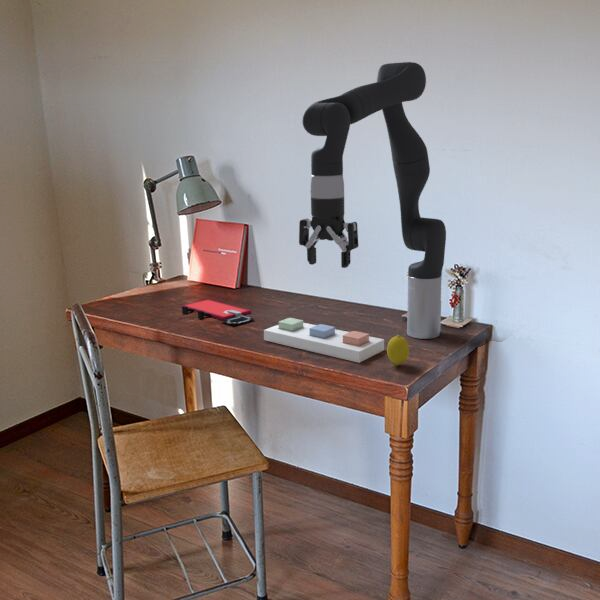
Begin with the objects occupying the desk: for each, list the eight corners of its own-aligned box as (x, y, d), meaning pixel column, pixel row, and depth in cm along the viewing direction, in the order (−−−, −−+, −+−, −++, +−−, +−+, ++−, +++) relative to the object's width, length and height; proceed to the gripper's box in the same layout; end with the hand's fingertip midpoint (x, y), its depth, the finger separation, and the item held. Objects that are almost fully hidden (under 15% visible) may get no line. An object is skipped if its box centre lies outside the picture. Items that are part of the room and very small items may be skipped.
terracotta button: (353, 339, 191) (353, 330, 191) (369, 342, 188) (369, 333, 188) (342, 344, 187) (342, 335, 187) (358, 347, 184) (358, 338, 184)
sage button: (289, 325, 204) (289, 317, 204) (303, 328, 201) (303, 320, 201) (278, 330, 201) (278, 321, 200) (292, 333, 198) (292, 324, 197)
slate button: (320, 332, 198) (320, 323, 197) (335, 335, 195) (335, 326, 194) (309, 337, 194) (309, 328, 193) (324, 340, 191) (324, 331, 190)
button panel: (290, 329, 209) (290, 319, 208) (383, 350, 190) (384, 339, 189) (264, 340, 200) (263, 330, 199) (359, 362, 181) (359, 351, 180)
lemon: (386, 368, 176) (386, 338, 174) (387, 361, 182) (387, 331, 180) (408, 369, 176) (409, 339, 173) (409, 362, 181) (409, 332, 179)
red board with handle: (229, 328, 212) (266, 318, 222) (228, 319, 211) (266, 310, 221) (171, 311, 233) (208, 303, 243) (171, 303, 232) (208, 295, 242)
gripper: (363, 194, 159) (363, 265, 163) (308, 191, 166) (310, 259, 170) (347, 198, 153) (348, 272, 157) (291, 195, 160) (293, 266, 164)
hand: (328, 265), depth 164 cm, fingers open, 8 cm apart
